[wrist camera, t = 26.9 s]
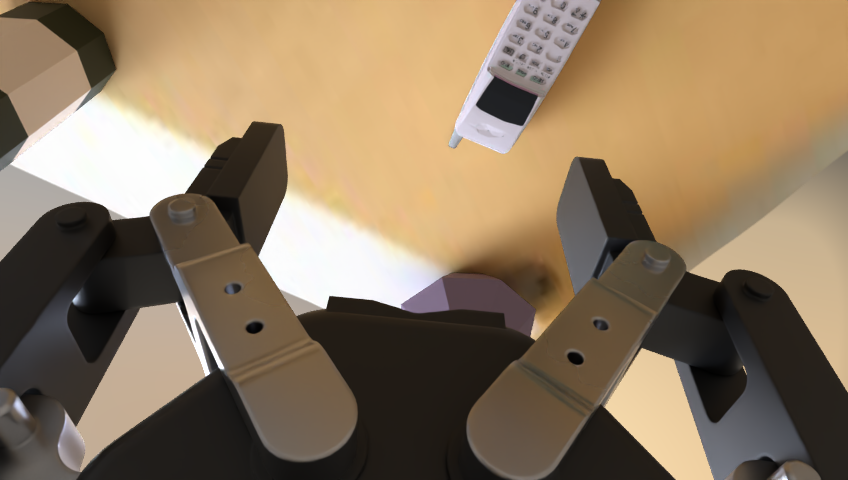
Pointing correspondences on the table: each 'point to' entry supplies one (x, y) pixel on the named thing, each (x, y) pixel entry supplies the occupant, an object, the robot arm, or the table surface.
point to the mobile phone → (521, 70)
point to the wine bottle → (46, 71)
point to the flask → (474, 299)
